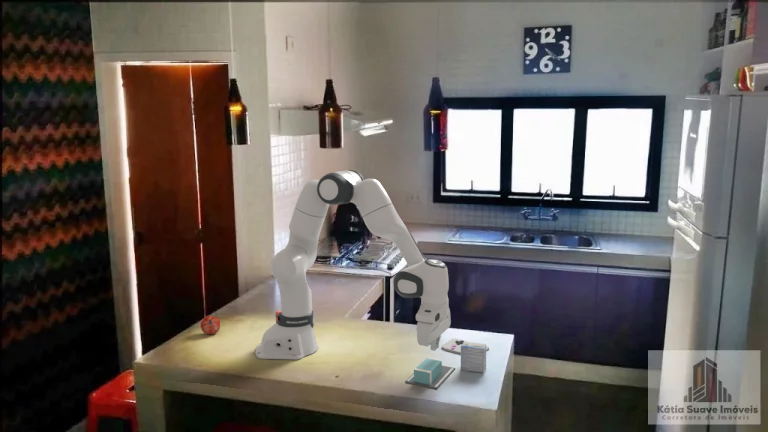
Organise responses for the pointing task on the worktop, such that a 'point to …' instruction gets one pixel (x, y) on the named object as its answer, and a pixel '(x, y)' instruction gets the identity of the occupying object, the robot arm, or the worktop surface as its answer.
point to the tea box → (427, 371)
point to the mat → (438, 381)
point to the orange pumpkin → (210, 325)
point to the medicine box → (473, 357)
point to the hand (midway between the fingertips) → (434, 348)
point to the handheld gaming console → (455, 346)
